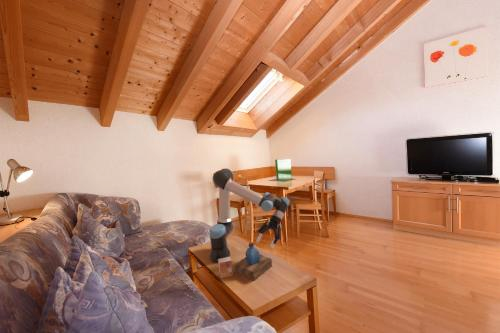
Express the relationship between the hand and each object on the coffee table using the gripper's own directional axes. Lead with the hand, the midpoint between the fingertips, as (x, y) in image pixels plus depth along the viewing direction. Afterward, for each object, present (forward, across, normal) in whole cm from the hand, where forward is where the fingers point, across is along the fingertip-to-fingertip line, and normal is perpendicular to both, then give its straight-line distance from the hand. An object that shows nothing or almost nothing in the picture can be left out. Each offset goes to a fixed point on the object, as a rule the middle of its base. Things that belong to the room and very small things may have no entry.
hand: (263, 245), depth 150 cm
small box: (+28, +9, +10) cm, 31 cm away
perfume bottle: (+13, 0, +2) cm, 13 cm away
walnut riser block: (+17, 0, -2) cm, 17 cm away
